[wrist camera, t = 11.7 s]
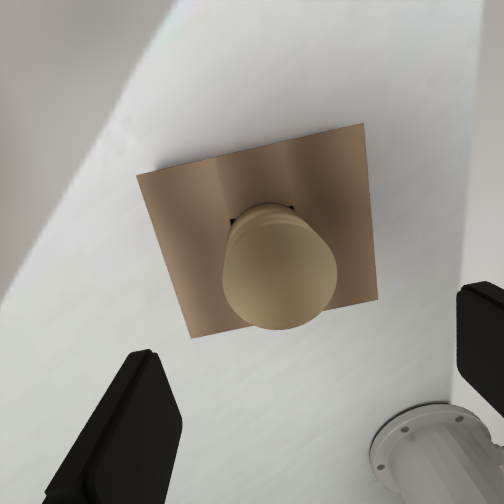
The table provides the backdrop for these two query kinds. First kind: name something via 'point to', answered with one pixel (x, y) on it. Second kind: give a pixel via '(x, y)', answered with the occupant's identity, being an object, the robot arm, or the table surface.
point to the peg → (277, 268)
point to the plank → (255, 192)
